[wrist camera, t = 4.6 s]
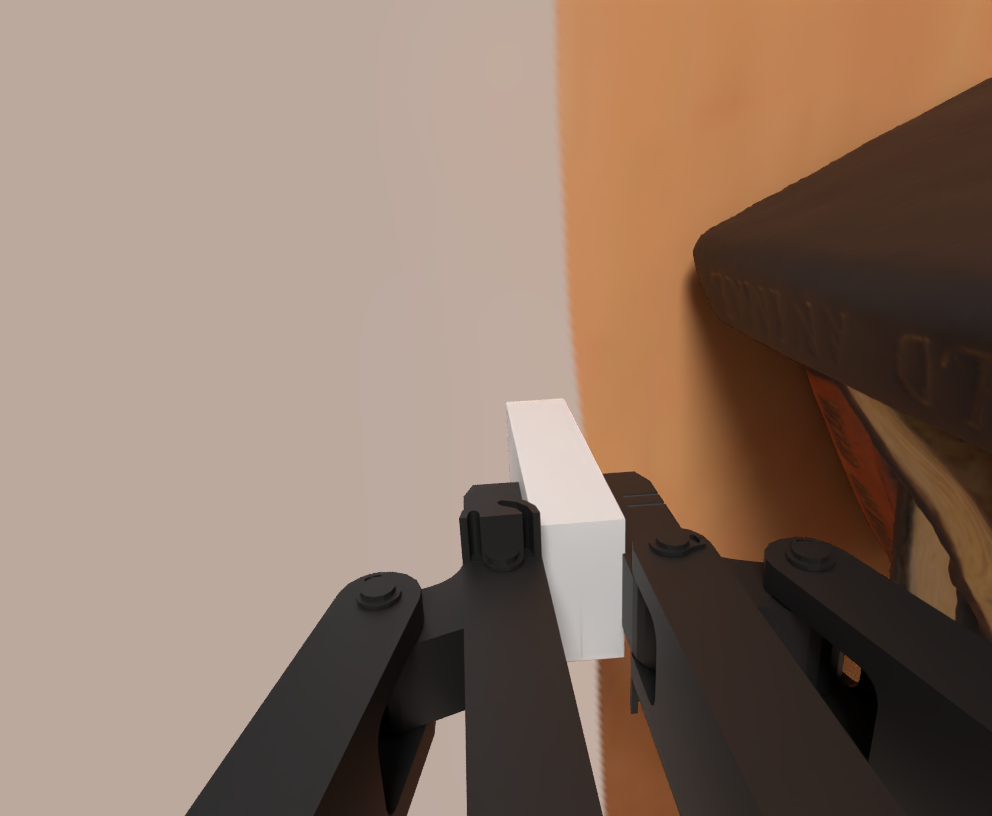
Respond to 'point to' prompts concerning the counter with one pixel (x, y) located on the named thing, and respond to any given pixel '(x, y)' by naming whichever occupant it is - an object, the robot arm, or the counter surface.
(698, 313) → the counter surface
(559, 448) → the robot arm
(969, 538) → the bookend
